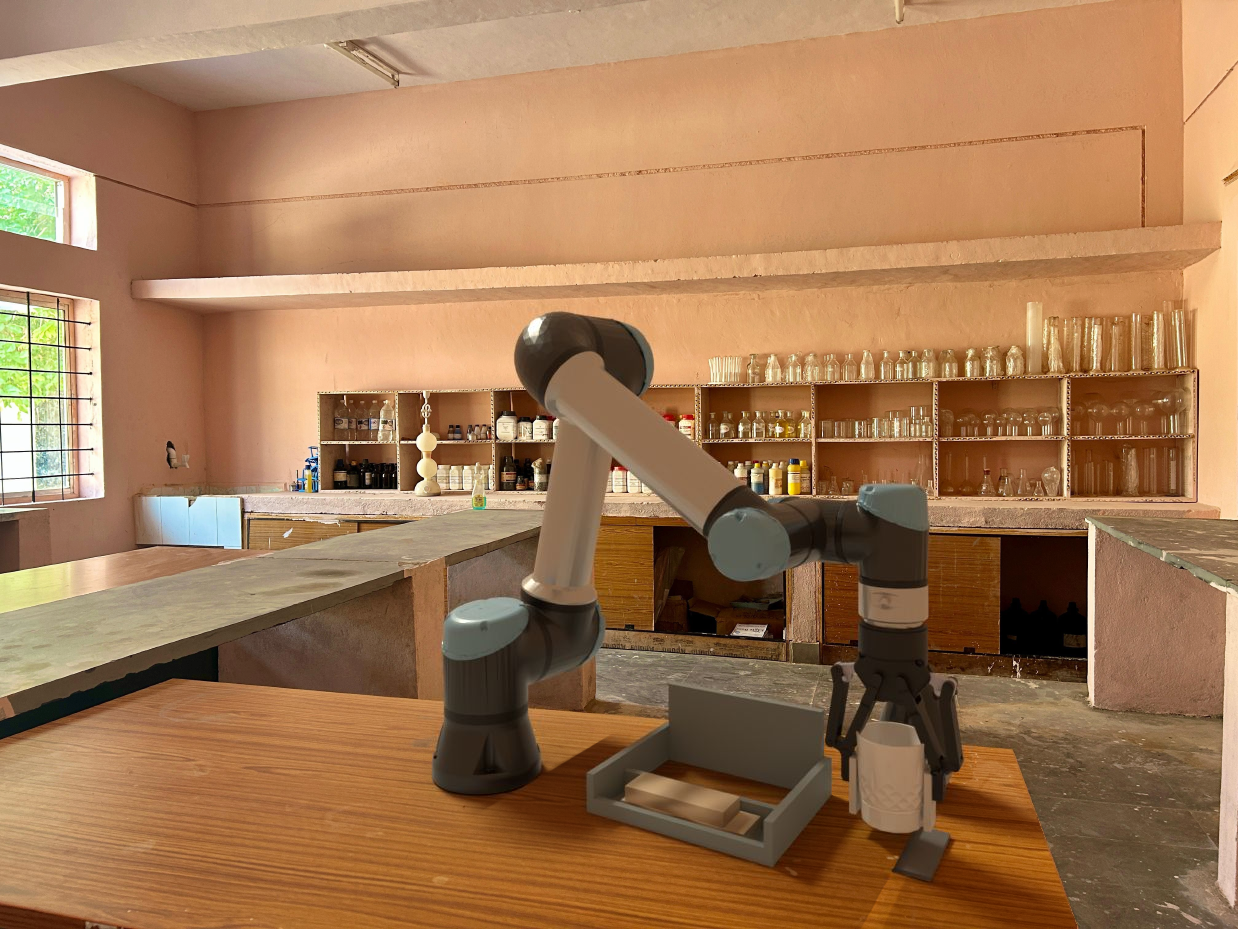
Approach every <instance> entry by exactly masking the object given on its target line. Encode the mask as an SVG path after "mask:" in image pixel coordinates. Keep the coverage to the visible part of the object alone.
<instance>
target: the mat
mask: <svg viewBox="0 0 1238 929" xmlns="http://www.w3.org/2000/svg"><path fill="white" fill-rule="evenodd" d="M923 830H924V825H922V826H921V827H920V829H919V830H916V831H913V832H911V834H910V837H909V838H908V840H907V842H906V844H905V846H904V847H903V850H902V851H901V854H900V855H899V857H898V859H897V861H896V862H895V864H894V866H893V868H892V870H891V872H893V873H896V874H900V875H902V876H903V875H904V876H907V877H911V878H915V879H918V880H922V881H926V882H929V883H931V882H932V881H933V878H934V876H935V873H936V871H937V868H938V866H939V865H940V862H941V859H942V858H943V854H944V852H945V850H946V848H947V846H948V844H949V841H950V839H951V833H950V832H946V831H942V830H938V829H935V828H933V829H932V831H931V833H930V832H926V831H923Z"/></svg>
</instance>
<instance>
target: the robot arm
mask: <svg viewBox="0 0 1238 929" xmlns="http://www.w3.org/2000/svg"><path fill="white" fill-rule="evenodd" d="M514 347H515V348H514V351H513V361H514V363H513V364H514V368H515V373H516V375H517V378H518V379H519V382H520V384H521V385H522V386H523V387H524V389H525V390H526V392H528V394H529V395H530V396H531V397H532V398H533V400H535V401H536V402H537V403H538V404H539V405H540V406H542V408H543V409H544V410H546V412H548V413H549V414H551V415H552V416H553V417H554V418H555V417H556V418H558V424H557V430H556V431H557V432H556V436H555V443H554V448H553V449H554V450H553V454H552V461H551V466H550V467H551V468H550V473H549V479H548V484H547V490H546V496H545V503H544V507H543V514H542V521H541V525H540V526H541V527H540V532H539V539H538V544H537V550H536V551H537V552H536V556H535V562H534V570H533V572H532V573H531V574H529V575H528V576H526V577H525V578H523V579H522V581H521V585H520V592H519V597H518V598H514V597H508V596H507V597H505V596H501V597H500V596H499V597H497V596H496V597H489V598H488V599H483V598H482V599H477V600H473V601H469V602H467V603H464V604H462V605H459V606H457V607H455V608H454V609H453V610H451V611H450V612H449V613H448V614H447V616H446V617H445V619H444V622H443V629H442V630H443V632H442V633H443V634H442V640H441V645H440V646H441V651H442V674H443V675H442V676H443V680H442V681H443V682H442V683H443V722H442V725H441V728H440V730H439V731H440V732H439V735H438V738H437V743H436V747H435V751H434V752H433V755H432V758H431V779H432V781H433V782H434V784H436V785H437V786H438V787H440V788H442V789H444V790H446V791H449V792H451V793H452V792H453V793H458V794H464V795H465V794H466V795H489V794H491V795H492V794H498V793H504V792H509V791H512V790H515V789H518V788H521V787H524V786H526V785H528V784H529V783H531V782H532V781H534V780H536V779H537V777H538V776H539V775H540V774H541V770H542V752H541V749H540V746H539V744H538V743H537V740H536V736H535V732H534V729H533V726H532V723H531V719H530V716H529V686H531V685H533V684H536V683H538V682H541V681H544V680H547V679H549V678H552V677H554V676H557V675H560V674H563V673H564V674H565V673H568V672H571V671H575V669H579V667H582V665H584V664H586V663H588V662H589V661H591V660H592V659H593V658H594V657H596V655H597V654H598V653H599V651H600V649H601V647H602V645H603V643H604V639H605V637H606V636H605V635H606V618H605V615H604V614H602V612H601V611H602V609H603V608H602V606H601V605H600V603H599V602H598V591H597V590H596V589H595V587H594V586H593V584H592V583H591V576H592V572H593V565H594V560H595V553H596V548H597V543H598V538H599V532H600V526H601V520H602V517H603V516H602V514H603V509H604V504H605V499H606V494H607V488H608V483H609V478H610V477H609V476H610V471H611V466H612V460H613V459H614V460H615V461H617V462H618V464H620V465H621V466H622V467H623V468H625V470H627V471H628V472H629V473H631V475H633V476H634V477H635V478H636V479H637V480H638V481H640V483H642V484H643V485H644V486H645V487H646V488H648V489H649V491H651V492H652V493H653V494H655V495H656V497H658V498H659V499H660V500H661V501H663V503H665V504H666V505H667V506H668V507H669V508H670V509H672V510H673V511H674V512H675V513H676V514H677V515H678V516H679V517H680V518H682V519H683V520H684V521H685V522H687V523H688V525H690V526H692V528H693V529H694V530H696V531H697V533H699V534H700V535H702V536H703V537H704V538H705V539H706V540H707V548H708V554H709V555H710V558H711V561H712V562H713V565H714V567H715V568H716V569H717V570H718V572H720V573H721V574H722V575H723V576H725V577H726V578H729V579H730V580H733V581H736V582H751V581H757V580H767V579H769V578H771V577H774V576H776V575H777V574H778V573H781V572H784V571H788V570H791V569H794V568H798V567H801V566H805V565H807V564H810V563H816V562H817V563H832V564H843V565H857V569H858V577H857V578H858V582H857V583H858V589H857V591H858V592H857V593H858V602H857V603H858V615H859V616H860V617H862V619H860V620H859V621H858V623H857V624H858V627H857V634H858V635H857V637H858V638H857V641H858V642H857V645H858V646H857V651H858V652H857V657H856V660H855V661H854V662H853V661H852V662H845V661H844V660H838V661H837V662H836V663H834V665H832V666H831V667H830V675H831V679H832V684H833V685H832V693H831V699H830V705H829V711H828V718H827V723H826V724H827V725H826V732H825V735H824V745H826V747H828V748H832V749H835V750H836V751H838V752H839V753H840V777H841V780H842V781H843V782H848V785H849V786H848V787H849V788H848V789H849V790H848V792H849V794H848V795H849V796H848V799H849V800H848V802H849V804H848V807H849V808H848V811H849V812H848V813H849V814H852V815H857V813H858V812H859V811H860V810H861V798H860V793H859V781H858V763H857V749H856V748H857V739H856V731H858V732H859V734H860V733H861V732H862V731H863V729H864V727H865V725H866V723H868V721H869V718H870V716H871V715H872V712H873V710H874V707H875V705H876V703H877V702H880V703H885V702H892V703H895V704H897V705H902V706H904V707H905V709H906V712H907V714H908V715H909V716H910V718H911V720H912V723H913V725H914V728H915V730H916V733H917V735H918V738H919V741H920V743H921V744H922V743H923V744H924V753H925V756H926V758H927V761H928V763H929V766H928V767H927V769H926V771H925V772H924V819H923V827H924V830H923V831H926V832H930V833H931V831H932V829H934V827H935V825H936V820H937V819H936V818H937V817H936V813H937V810H936V809H937V808H936V806H937V802H938V803H942V802H943V799H944V798H945V795H946V794H947V793H946V790H947V788H946V786H947V785H946V773H947V772H952V773H958V772H959V771H960V770H961V768H962V766H963V764H964V762H965V757H964V752H963V751H964V750H963V747H962V746H963V745H962V739H961V731H960V724H959V717H958V712H957V711H958V710H957V706H956V700H955V697H956V695H955V693H956V689H958V685H959V681H958V679H957V677H955V676H952V675H951V676H948V677H946V676H943V675H939V674H936V673H933V670H932V669H931V667H930V664H929V627H928V626H927V624H926V623H925V621H926V620H928V618H929V577H928V576H929V575H928V574H929V546H930V544H929V543H930V542H929V538H930V537H929V535H930V529H931V524H930V523H929V507H928V506H929V504H928V493H927V491H926V490H925V489H924V488H923V487H921V486H919V485H918V484H910V483H880V482H879V483H867V484H863V485H861V486H860V487H859V489H858V496H857V497H856V499H847V500H845V499H843V500H841V499H828V498H827V499H826V498H809V497H800V496H797V495H796V496H794V495H791V496H783V497H779V496H777V497H771V498H768V499H767V500H766V499H764V497H762V496H761V495H759V493H757V492H756V491H755V490H753V489H752V488H750V487H749V486H748V485H747V484H746V483H745V482H744V481H743V480H741V479H740V478H739V477H738V476H736V475H735V474H734V473H733V472H732V471H730V470H729V469H728V468H726V466H724V465H723V464H722V463H720V462H719V461H718V460H717V459H715V458H714V457H713V456H712V455H710V454H709V453H708V452H707V451H706V450H704V449H703V448H702V447H701V446H699V445H698V444H697V443H696V442H694V441H693V440H692V439H691V438H689V437H688V436H687V435H686V434H685V433H684V432H682V431H681V430H680V429H679V428H677V427H676V426H674V424H672V423H671V422H670V421H669V420H667V419H666V418H665V417H663V416H662V415H661V414H660V413H658V412H657V411H656V410H655V409H653V407H651V406H650V405H648V404H647V403H646V402H645V401H644V400H642V399H641V398H640V397H641V396H642V395H643V393H645V392H647V391H648V389H649V388H650V386H651V383H652V381H653V378H654V372H655V359H654V353H653V351H652V350H653V349H652V347H651V345H650V343H649V342H648V340H647V338H646V337H645V335H644V334H643V333H642V332H641V331H640V330H639V329H638V328H637V327H635V326H633V325H631V324H629V323H626V322H623V321H620V320H617V319H614V318H606V317H598V316H592V315H586V314H585V315H584V314H578V313H573V312H568V311H561V310H560V311H551V312H545V313H544V314H541V315H539V316H537V317H536V318H533V319H532V320H531V321H530V322H529V323H528V324H527V325H526V326H525V327H523V329H522V331H521V332H520V334H519V335H518V337H517V340H516V343H515V346H514ZM854 674H856V675H857V677H858V680H860V682H861V683H862V685H863V686H864V688H865V690H864V693H863V695H862V697H861V700H860V702H859V703H860V704H859V706H858V708H857V710H856V712H855V714H854V716H853V719H852V721H851V723H850V725H849V727H848V730H847V732H846V735H845V736H843V735H842V733H843V732H842V731H843V727H844V721H845V713H846V708H847V700H848V696H849V690H850V681H852V680H853V679H854ZM928 684H931V685H932V686H933V687H934V693H935V694H936V695H937V696H938V697H940V699H939V708H940V715H941V721H942V728H943V735H944V741H945V748H946V755H947V757H945V756H944V754H943V751H942V749H941V746H940V744H939V741H938V739H937V736H936V734H935V731H934V729H933V726H932V724H931V721H930V719H929V716H928V714H927V711H926V709H925V703H924V700H923V698H922V695H921V692H922V690H923V689H924V688H925V687H926V686H927V685H928Z"/></svg>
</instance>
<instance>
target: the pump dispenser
mask: <svg viewBox="0 0 1238 929" xmlns="http://www.w3.org/2000/svg"><path fill="white" fill-rule="evenodd" d="M958 694H959V690H958V688H957V689H956V693H955V696H958ZM921 695H922V698H923V700H924V703H925V709H926V711H927V714H928V716H929V719H930V721H931V724H932V726H933V729H934V731H935V734H936V736H937V739H938V741H939V744H940V746H941V749H942V751H943V754H944V756H945V757H947V755H946V748H945V741H944V735H943V728H942V721H941V715H940V708H939V699H940V697H938V696H937V695H936V694H935V693H934V687H933V686H932V685H931V684H928V685H927V686H926V687H925V688H924V689H923V690H922V692H921ZM878 722H894V723H901V724H906V725H909V726H913V727H914V725H913V723H912V720H911V718H910V716H909V715H908V714H907V712H906V709H905V707H904V706H902V705H897V704H895V703H892V702H884V704H883V707H882V710H881V713H880V715H879V719H878ZM928 766H929V763H928ZM952 775H953V772H947V773H946V786H947V785H948V783H949V782H950V781H951V778H952Z"/></svg>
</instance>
